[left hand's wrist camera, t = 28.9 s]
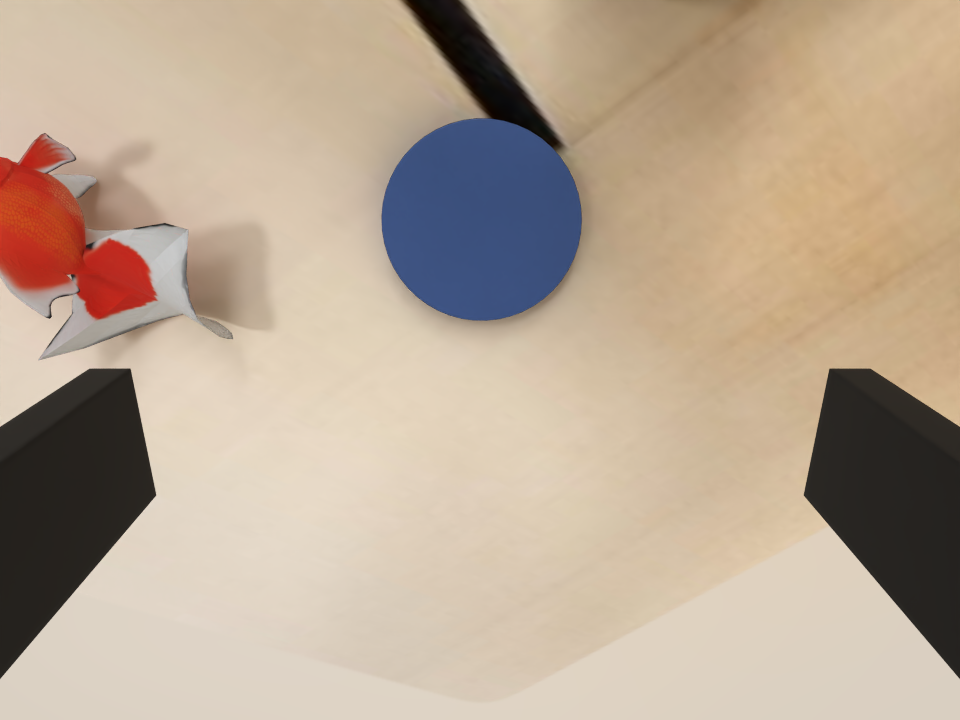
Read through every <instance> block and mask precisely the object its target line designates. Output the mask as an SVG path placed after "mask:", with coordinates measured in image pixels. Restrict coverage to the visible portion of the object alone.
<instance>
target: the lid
mask: <svg viewBox="0 0 960 720" xmlns="http://www.w3.org/2000/svg"><path fill="white" fill-rule="evenodd" d="M581 223H582V217H581V205H580V200H579V194H578V191H577V188H576V185H575V182H574V180H573V178H572V176H571V173H570V171H569V169H568V168H567V166H566V165H565V163H564V162H563V160H562V159H561V157H560V156H559V155H558V154H557V153H556V152H555V151H554V149H553V148H552V147H551V146H550V145H548V144H547V143H546V142H545V141H544V140H543V139H541V138H540V137H538V136H537V135H535V134H534V133H532V132H531V131H529V130H527V129H525V128H523V127H520V126H518V125H515V124H512V123H509V122H506V121H502V120H495V119H482V118H476V119H468V120H462V121H458V122H454V123H451V124H448V125H446V126H443V127H441V128H438V129H436V130H435V131H433V132H431V133H430V134H428V135H426V136H425V137H423V138H422V139H421V140H420V141H418V142H417V143H416V144H415V145H414V146H413V147H412V148H411V149H410V150H409V151H408V152H407V153H406V154H405V155H404V157H403V158H402V159H401V161H400V162H399V164H398V165H397V167H396V168H395V170H394V172H393V174H392V176H391V178H390V181H389V183H388V186H387V189H386V192H385V196H384V201H383V207H382V232H383V238H384V244H385V247H386V250H387V254H388V256H389V259H390V261H391V263H392V265H393V267H394V269H395V271H396V272H397V274H398V276H399V277H400V279H401V280H402V281H403V282H404V284H405V285H406V286H407V287H408V289H409V290H411V291H412V292H413V293H414V294H415V295H416V296H417V297H418V298H419V299H421V300H422V301H423V302H425V303H426V304H427V305H429V306H431V307H433V308H434V309H436V310H438V311H440V312H443V313H445V314H448V315H450V316H454V317H457V318H461V319H468V320H484V321H487V320H496V319H501V318H506V317H510V316H513V315H515V314H518V313H521V312H523V311H525V310H527V309H529V308H531V307H532V306H534V305H536V304H537V303H538V302H540V301H541V300H543V299H544V298H545V297H546V296H547V295H548V294H550V293H551V292H552V291H553V290H554V289H555V287H556V286H557V285H558V284H559V283H560V282H561V280H562V279H563V277H564V276H565V274H566V273H567V271H568V270H569V268H570V265H571V263H572V261H573V259H574V257H575V254H576V251H577V248H578V244H579V239H580V234H581Z"/></svg>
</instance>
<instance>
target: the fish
mask: <svg viewBox="0 0 960 720" xmlns="http://www.w3.org/2000/svg"><path fill="white" fill-rule="evenodd" d="M75 160H76V157H75V156H74V154H73V153H72V152H71V151H70V149H69V148H68V147H66V146H64V145H62V144H60V143H59V142H57V141H55V140H53V139H52V138H51V137H49V136H48V135H47V134H46V133H44V134H41V135H40V136H39V137H38V138H37V139H36V140H34V142H33V143H32V144H31V145H30V147H29V148H28V150H27V151H26V153H25V154H24V155H23V157H22V158H21V160H20V161H19V162H18V163H16V162H12V161H11V160H9V159H8V158H3V157H0V277H1V279H2V280H3V282H4V283H5V285H6V286H7V288H8V289H9V290H10V292H11V293H12V294H14V295H15V296H16V297H17V298H18V299H20V300H21V301H22V302H23V303H25V304H26V305H27V306H29V307H31V308H32V309H34V310H35V311H37V312H38V313H40V314H41V315H43V316H45V317H46V318H49V319H50V318H51V317H52V315H51V304H52V302H53V301H54V300H55V299H56V298H59V297H63V296H69V295H73V301H72V315H71V316H70V317H69V319H68V320H67V321H66V323H65V324H64V325H63V326H62V328H61V329H60V330H59V332H58V333H57V334H56V336H55V337H54V338H53V340H52V341H51V342H50V344H49V345H48V347H47V348H46V350H45V351H44V353H43V354H42V355H41V357H40V358H39V360H42V359H45V358H49V357H53V356H57V355H61V354H64V353H68V352H72V351H76V350H80V349H83V348H86V347H89V346H92V345H94V344H97V343H100V342H102V341H105V340H107V339H110V338H113V337H115V336H118V335H121V334H123V333H126V332H129V331H131V330H134V329H137V328H140V327H142V326H145V325H148V324H150V323H153V322H156V321H159V320H162V319H166V318H170V317H174V316H178V315H181V314H184V315H186V316H188V317H189V318H191V319H192V320H194V321H196V322H198V323H199V324H201V325H203V326H204V327H206V328H208V329H209V330H211V331H212V332H214V333H215V334H217V335H218V336H220V337H223V338H227V339H233V336H232V333H231V332H230V331H229V330H227V329H226V328H225V327H224V326H222V325H221V324H219V323H218V322H217V321H214V320H210V319H207V318H204V317H200V316H197V315H196V314H195V311H194V309H193V306H192V304H191V302H190V297H189V291H188V284H187V278H186V270H187V245H188V230H187V229H184V228H180V227H177V226H173V225H170V224H166V223H163V224H157V225H151V226H145V227H139V228H134V229H130V230H92V229H88V228H85V222H84V218H83V214H82V211H81V209H80V207H79V205H78V203H77V201H76V199H75V198H78V197H81V196H82V195H83V194H84V193H85V192H86V191H87V190H88V189H89V188H90V187H92V186H93V185H94V184H95V183H96V182H97V180H96V178H95V177H93V176H87V175H68V174H56V175H49V174H48V172H51V171H53V170H54V169H56V168H58V167H60V166H61V165H63V164H66V163H69V162H72V161H75ZM69 274H71V276H72V280H71V279H70V278H69V277H68V276H67V275H69Z"/></svg>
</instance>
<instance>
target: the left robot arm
mask: <svg viewBox="0 0 960 720" xmlns="http://www.w3.org/2000/svg"><path fill="white" fill-rule="evenodd" d="M155 496H156V492H155V487H154V482H153V477H152V472H151V467H150V462H149V457H148V452H147V447H146V443H145V438H144V433H143V428H142V423H141V418H140V413H139V408H138V403H137V398H136V393H135V389H134V384H133V379H132V374H131V369H88V370H87V371H85V372H84V373H82V374H81V375H79V376H78V377H76V378H75V379H73V380H72V381H70V382H68V383H67V384H65V385H64V386H62V387H61V388H59V389H58V390H56V391H55V392H53V393H52V394H50V395H48V396H47V397H45V398H44V399H42V400H41V401H39V402H38V403H36V404H35V405H33V406H32V407H30V408H29V409H27V410H25V411H24V412H22V413H21V414H19V415H18V416H16V417H15V418H13V419H12V420H10V421H9V422H7V423H5V424H4V425H2V426H1V427H0V678H1V677H2V676H3V675H4V674H5V673H6V671H7V670H8V669H9V668H10V667H11V665H12V664H13V663H14V662H15V661H16V660H17V658H18V657H19V656H20V655H21V654H22V653H23V651H24V650H25V649H26V648H27V647H28V646H29V644H30V643H31V642H32V641H33V640H34V638H35V637H36V636H37V635H38V634H39V633H40V631H41V630H42V629H43V628H44V627H45V626H46V624H47V623H48V622H49V621H50V620H51V618H52V617H53V616H54V615H55V614H56V613H57V611H58V610H59V609H60V608H61V607H62V606H63V604H64V603H65V602H66V601H67V600H68V598H69V597H70V596H71V595H72V594H73V593H74V591H75V590H76V589H77V588H78V587H79V586H80V584H81V583H82V582H83V581H84V580H85V579H86V577H87V576H88V575H89V574H90V573H91V571H92V570H93V569H94V568H95V567H96V566H97V564H98V563H99V562H100V561H101V560H102V559H103V557H104V556H105V555H106V554H107V553H108V551H109V550H110V549H111V548H112V547H113V546H114V544H115V543H116V542H117V541H118V540H119V539H120V537H121V536H122V535H123V534H124V533H125V531H126V530H127V529H128V528H129V527H130V526H131V524H132V523H133V522H134V521H135V520H136V519H137V517H138V516H139V515H140V514H141V513H142V511H143V510H144V509H145V508H146V507H147V506H148V504H149V503H150V502H151V501H152V500H153V499H154V497H155ZM804 496H805V497H806V499H807V500H808V501H809V502H810V503H811V504H812V506H813V507H814V508H815V509H816V510H817V511H818V513H819V514H820V515H821V516H822V517H823V519H824V520H825V521H826V522H827V523H828V524H829V526H830V527H831V528H832V529H833V530H834V531H835V533H836V534H837V535H838V536H839V537H840V539H841V540H842V541H843V542H844V543H845V544H846V546H847V547H848V548H849V549H850V550H851V551H852V553H853V554H854V555H855V556H856V557H857V559H858V560H859V561H860V562H861V563H862V564H863V566H864V567H865V568H866V569H867V570H868V571H869V573H870V574H871V575H872V576H873V577H874V578H875V580H876V581H877V582H878V583H879V584H880V586H881V587H882V588H883V589H884V590H885V591H886V593H887V594H888V595H889V596H890V597H891V598H892V600H893V601H894V602H895V603H896V604H897V605H898V607H899V608H900V609H901V610H902V611H903V613H904V614H905V615H906V616H907V617H908V618H909V620H910V621H911V622H912V623H913V624H914V625H915V627H916V628H917V629H918V630H919V631H920V633H921V634H922V635H923V636H924V637H925V638H926V640H927V641H928V642H929V643H930V644H931V646H932V647H933V648H934V649H935V650H936V651H937V653H938V654H939V655H940V656H941V657H942V658H943V660H944V661H945V662H946V663H947V664H948V666H949V667H950V668H951V669H952V670H953V671H954V673H955V674H956V675H957V676H958V677H959V678H960V427H959V426H958V425H956V424H955V423H953V422H951V421H950V420H948V419H947V418H945V417H944V416H942V415H941V414H939V413H938V412H936V411H935V410H933V409H931V408H930V407H928V406H927V405H925V404H924V403H922V402H921V401H919V400H918V399H916V398H915V397H913V396H912V395H910V394H908V393H907V392H905V391H904V390H902V389H901V388H899V387H898V386H896V385H895V384H893V383H892V382H890V381H888V380H887V379H885V378H884V377H882V376H881V375H879V374H878V373H876V372H875V371H873V370H872V369H829V374H828V379H827V384H826V389H825V393H824V398H823V403H822V408H821V413H820V418H819V423H818V428H817V433H816V438H815V443H814V447H813V452H812V457H811V462H810V467H809V472H808V477H807V482H806V487H805V492H804Z"/></svg>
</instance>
